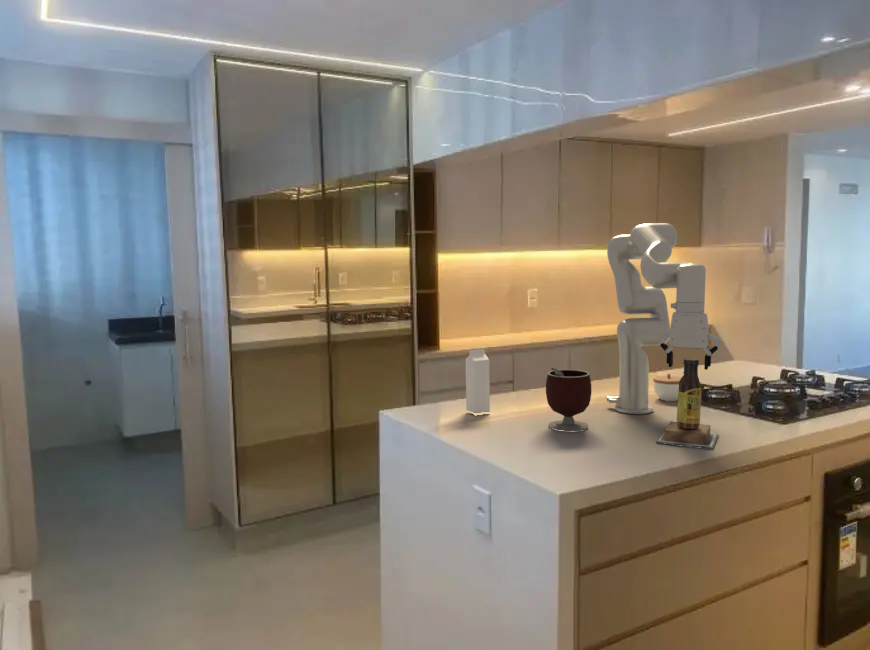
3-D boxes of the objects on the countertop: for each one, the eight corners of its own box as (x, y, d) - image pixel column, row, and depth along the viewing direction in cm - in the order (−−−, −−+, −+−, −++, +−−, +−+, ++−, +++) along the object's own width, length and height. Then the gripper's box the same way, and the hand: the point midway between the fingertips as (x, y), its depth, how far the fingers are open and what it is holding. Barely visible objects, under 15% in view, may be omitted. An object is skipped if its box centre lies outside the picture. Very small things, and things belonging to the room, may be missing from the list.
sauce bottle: (688, 431, 191) (690, 361, 189) (671, 426, 197) (673, 358, 195) (705, 428, 194) (707, 359, 192) (688, 423, 200) (689, 356, 197)
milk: (466, 413, 234) (464, 349, 231) (481, 410, 236) (480, 348, 234) (475, 416, 228) (473, 351, 226) (490, 414, 231) (489, 350, 229)
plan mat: (655, 443, 193) (656, 431, 192) (664, 430, 206) (665, 419, 205) (712, 449, 186) (713, 436, 185) (718, 436, 199) (718, 424, 198)
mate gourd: (562, 419, 222) (562, 358, 220) (599, 426, 212) (600, 363, 210) (533, 428, 211) (533, 365, 209) (571, 436, 201) (571, 370, 199)
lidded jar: (687, 398, 250) (687, 372, 249) (680, 403, 241) (680, 377, 240) (657, 395, 255) (657, 370, 254) (649, 400, 246) (649, 375, 245)
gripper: (655, 308, 192) (654, 367, 195) (722, 310, 184) (719, 372, 187) (660, 305, 199) (659, 363, 201) (724, 307, 191) (722, 367, 193)
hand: (688, 367), depth 194 cm, fingers open, 9 cm apart
